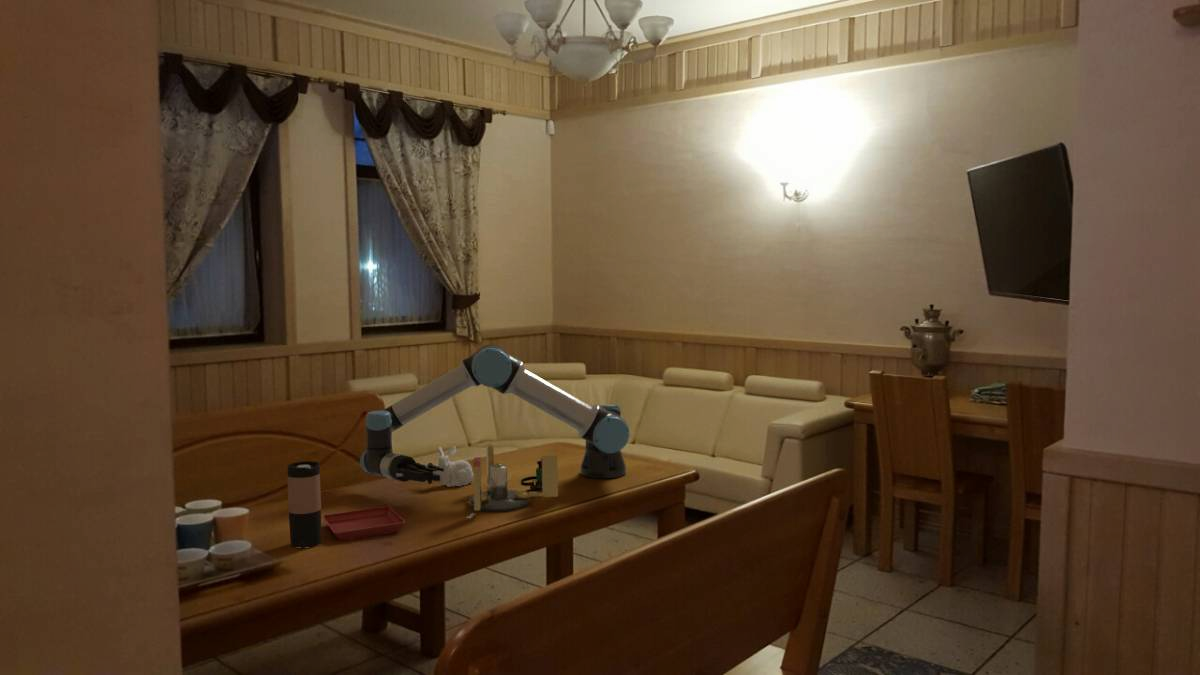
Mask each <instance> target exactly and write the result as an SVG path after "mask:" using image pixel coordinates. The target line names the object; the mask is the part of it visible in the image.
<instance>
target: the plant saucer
mask: <svg viewBox="0 0 1200 675" xmlns="http://www.w3.org/2000/svg"><path fill="white" fill-rule="evenodd" d="M321 518H322V519H323V520H324V522H325V523H326V524H327V526H328V527H329V529H330V530H331V532H332V534H334V536H335V537H336V538H337V539H338V540H339V541H345V540H344V539H349V540H352V539H351V538H356V539H359V538H358V537H362V538H366V537H365V536H369V537H372V536H371V535H376V536H379V535H378V534H383V535H386V534H385V533H390V534H394V533H393V532H396V533H398V531H400V530H401V529H402V527H403V526H404V525H405V524H406V520H404V518H402V517H401V516H400V515H399V514H398V513H397V512H396V511H395V510H394V509H393V508H392V507H391V506H390V505H389V506H388V505H385V506H379V507H371V508H365V509H356V510H350V511H345V512H344V511H342V512H335V513H331V514H329V513H328V514H324V515H321Z"/></svg>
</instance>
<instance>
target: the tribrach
mask: <svg viewBox="0 0 1200 675" xmlns="http://www.w3.org/2000/svg"><path fill="white" fill-rule="evenodd" d="M485 446H486V482H487V486H486V490H484V491H481V494H486V495H488V501H487V502H485V503H482V506H481V509H480V510H478V511H479V512H486V511H488V512H489V513H500V512H499V511H504V512H511V511H510V510H512V511H517V510H520V508H521V509H524V508H526V507H527V506H528V505H529V500H530V497H542V498H550V497H551V498H552V497H554V498H555V497H558V496H559V492H558V491H559V489H558V488H559V482H558V480H559V478H558V453H550V454H548V453H546V454H541V458H542V491H539V490H538V492H528V491H526V490H516V489H515V490H513V489H508V465H505V464H503V463H494V460H495V459H494V458H495V457H494V453H495V452H494V445H493V444H492V443H486V445H485ZM473 496H474V493H473V494H471V495H470V496H469V498H468V501H469V502H468V503H469V505H470V506H469V505H468V506H469V507H470V508H471V509H472V508H473V509H472V510H474V502H473ZM516 509H517V510H516ZM488 512H487V513H488ZM474 515H475V516H476V515H477V513H476V512H471V513H470V514H469V515H468V516H466V518H467V519H466V520H471V519H473V516H474ZM475 516H474V517H475ZM468 518H469V519H468Z"/></svg>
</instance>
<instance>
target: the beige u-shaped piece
mask: <svg viewBox="0 0 1200 675" xmlns="http://www.w3.org/2000/svg"><path fill="white" fill-rule="evenodd" d="M472 468H473V473H474V481H473V494H474V496H473V502H474V509H473V510H474V511H479V510H480V509H481V506H482V503H485V502H487V501H488V495H486V494H481V492H482V457H481V456H480V457H474V458H473V460H472Z"/></svg>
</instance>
